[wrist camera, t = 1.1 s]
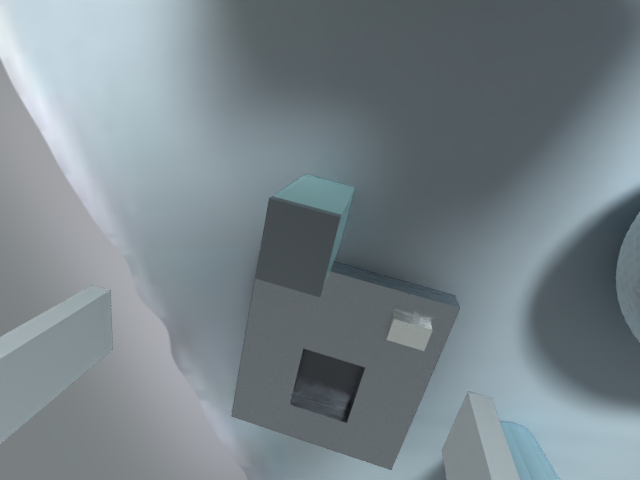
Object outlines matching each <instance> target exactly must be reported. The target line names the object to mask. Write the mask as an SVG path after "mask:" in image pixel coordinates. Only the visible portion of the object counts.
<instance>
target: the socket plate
mask: <svg viewBox="0 0 640 480" xmlns="http://www.w3.org/2000/svg"><path fill="white" fill-rule="evenodd" d="M259 255H260V253H259ZM258 260H259V259H258ZM257 266H258V265H257ZM256 272H257V271H256ZM255 278H256V276H255ZM459 309H460V307H459V305H458V302H457V299H456V297H455V296H454V295H451V294H447V293H443V292H440V291H436V290H433V289H429V288H426V287H422V286H419V285H415V284H411V283H408V282H404V281H401V280H397V279H394V278H390V277H387V276H383V275H379V274H376V273H372V272H369V271H365V270H362V269H358V268H355V267H351V266H347V265H344V264H340V263H337V262H334V263H333V265H332V268H331V270H330V273H329V276H328V278H327V281H326V283H325V286H324V288H323V291H322V294H321V296H320V297H317V296H313V295H310V294H306V293H303V292H299V291H296V290H293V289H289V288H286V287H282V286H279V285H276V284H272V283H269V282H265V281H262V280H258V279H255V282H254V288H253V294H252V300H251V306H250V311H249V317H248V323H247V329H246V335H245V340H244V346H243V352H242V358H241V364H240V370H239V375H238V381H237V387H236V393H235V399H234V405H233V410H232V417H235V418H238V419H241V420H244V421H247V422H250V423H253V424H256V425H259V426H262V427H265V428H268V429H271V430H274V431H277V432H280V433H283V434H286V435H289V436H292V437H295V438H298V439H301V440H304V441H307V442H309V443H312V444H315V445H318V446H321V447H324V448H327V449H330V450H333V451H336V452H339V453H342V454H345V455H348V456H351V457H354V458H357V459H360V460H363V461H366V462H369V463H372V464H375V465H378V466H381V467H384V468H387V469H390V470H392V467H393V465H394V462H395V460H396V458H397V455H398V453H399V451H400V448H401V446H402V444H403V441H404V439H405V437H406V434H407V432H408V429H409V427H410V425H411V422H412V420H413V418H414V415H415V413H416V411H417V408H418V406H419V403H420V401H421V399H422V396H423V394H424V392H425V389H426V387H427V385H428V382H429V380H430V378H431V375H432V373H433V370H434V368H435V366H436V363H437V361H438V359H439V356H440V354H441V352H442V349H443V347H444V344H445V342H446V340H447V337H448V335H449V333H450V330H451V328H452V326H453V323H454V321H455V318H456V316H457V314H458V311H459Z"/></svg>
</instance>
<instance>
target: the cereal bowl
mask: <svg viewBox="0 0 640 480" xmlns="http://www.w3.org/2000/svg"><path fill="white" fill-rule="evenodd" d="M616 288H617V289H616V291H617V294H618V298H617V299H618V301H619V304H620V309H621V312H622V314H623V316H624V317H625V321H626V323H627V324H628V326H629V327H630V329H631V332H632V334H633V335H634V336H635V337H636V338H637V340H638V342H639V343H640V212H639V214H638V215H637V216H636V218H635V220H634V222H633V223H632V224H631V226H630V229H629V230H628V232H627V233H626V237H625V238H624V240H623V244H622V246H621V248H620V253H619V257H618V261H617V269H616Z"/></svg>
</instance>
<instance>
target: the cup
mask: <svg viewBox="0 0 640 480" xmlns="http://www.w3.org/2000/svg"><path fill="white" fill-rule="evenodd" d="M500 424H501V427H502V429H503V432H504V435H505V438H506V441H507V444H508V447H509V450H510V452H511V455H512V458H513V461H514V464H515V467H516V470H517V473H518V475H519V478H520V480H560V478H559V477H558V475H557V473H556V472H555V470H554V468H553V467H552V465H551V463H550V462H549V460H548V458H547V457H546V455H545V453H544V452H543V450H542V449H541V447H540V445H539V444H538V442H537V441H536V439H535V438H534V436H533V435H532V434H531V433H530V432H529V431H528V430H527V429H526V428H524V427H522V426H520V425H518V424H515V423H510V422H500Z"/></svg>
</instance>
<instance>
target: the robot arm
mask: <svg viewBox="0 0 640 480" xmlns="http://www.w3.org/2000/svg"><path fill="white" fill-rule="evenodd" d="M110 292H111V290H109V289H105V288H102V287H98V286H95V285H91V286H89V287H87V288H86V289H84V290H82V291H80V292H79V293H77V294H75V295H73V296H72V297H70V298H68V299H66V300H65V301H63V302H61V303H59V304H58V305H56V306H54V307H52V308H50V309H49V310H47V311H45V312H43V313H42V314H40V315H38V316H36V317H35V318H33V319H31V320H30V321H28V322H26V323H24V324H22V325H21V326H19V327H17V328H15V329H14V330H12V331H10V332H8V333H7V334H5V335H3V336H1V337H0V444H1V443H2V442H3V441H4V440H6V439H7V438H8V437H9V436H10V435H11V434H13V433H14V432H15V431H16V430H18V429H19V428H20V427H21V426H22V425H24V424H25V423H26V422H27V421H28V420H29V419H31V418H32V417H33V416H34V415H35V414H37V413H38V412H39V411H40V410H41V409H42V408H44V407H45V406H46V405H47V404H48V403H50V402H51V401H52V400H53V399H54V398H56V397H57V396H58V395H59V394H60V393H62V392H63V391H64V390H65V389H66V388H67V387H69V386H70V385H71V384H72V383H73V382H75V381H76V380H77V379H78V378H79V377H80V376H82V375H83V374H84V373H85V372H87V371H88V370H89V369H90V368H91V367H92V366H94V365H95V364H96V363H97V362H98V361H100V360H101V359H102V358H103V357H104V356H106V355H107V354H108V353H109V352H110V351H111V350H113V340H112V315H111V293H110ZM442 453H443V460H444V466H445V473H446V480H520V478H519V475H518V473H517V470H516V467H515V464H514V461H513V458H512V455H511V452H510V450H509V447H508V444H507V441H506V438H505V435H504V432H503V429H502V427H501V424H500V421H499V418H498V415H497V412H496V409H495V406H494V404H493V401H492V398H489V397H486V396H482V395H479V394H475V393H472V392H467V395H466V397H465V399H464V401H463V404H462V406H461V408H460V410H459V413H458V415H457V417H456V419H455V422H454V424H453V426H452V428H451V431H450V433H449V435H448V437H447V440H446V442H445V444H444V446H443V449H442Z"/></svg>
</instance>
